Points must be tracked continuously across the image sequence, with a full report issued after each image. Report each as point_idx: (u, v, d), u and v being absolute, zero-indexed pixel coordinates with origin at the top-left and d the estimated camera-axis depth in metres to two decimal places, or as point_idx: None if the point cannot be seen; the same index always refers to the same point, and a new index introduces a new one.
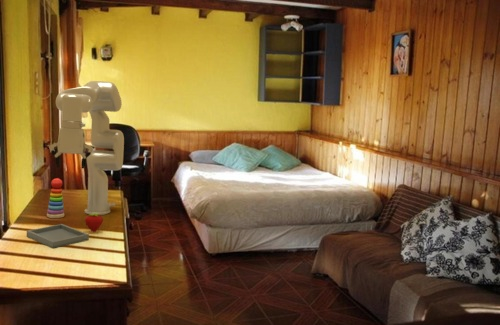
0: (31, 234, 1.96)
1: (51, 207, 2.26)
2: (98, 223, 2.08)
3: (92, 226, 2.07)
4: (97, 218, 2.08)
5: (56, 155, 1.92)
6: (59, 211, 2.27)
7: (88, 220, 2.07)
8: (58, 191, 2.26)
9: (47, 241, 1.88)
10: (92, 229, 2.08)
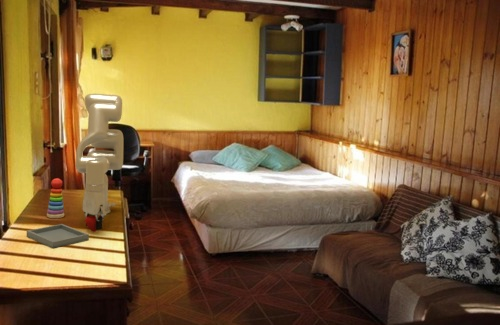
0: (31, 234, 1.96)
1: (51, 207, 2.26)
2: None
3: (92, 226, 2.07)
4: None
5: None
6: (59, 211, 2.27)
7: (88, 220, 2.07)
8: (58, 191, 2.26)
9: (47, 241, 1.88)
10: (92, 229, 2.08)
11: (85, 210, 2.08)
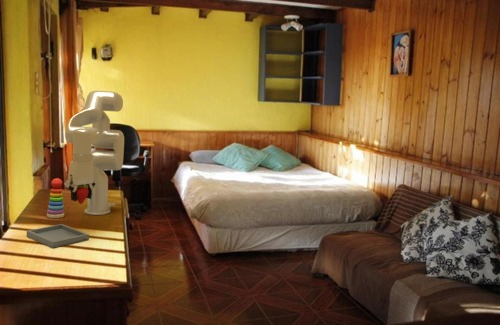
0: (31, 234, 1.96)
1: (51, 207, 2.26)
2: None
3: None
4: (76, 189, 2.01)
5: (74, 190, 1.99)
6: (59, 211, 2.27)
7: None
8: (58, 191, 2.26)
9: (47, 241, 1.88)
10: None
11: None
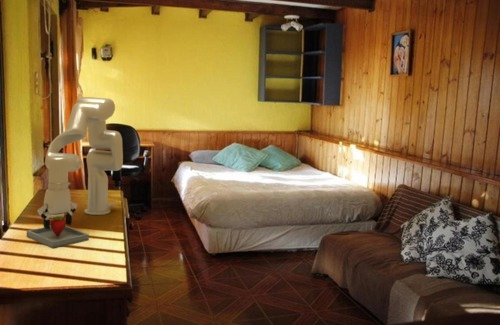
0: (31, 234, 1.96)
1: None
2: (51, 226, 1.96)
3: None
4: (52, 221, 1.96)
5: (47, 218, 1.92)
6: None
7: None
8: None
9: (47, 241, 1.88)
10: None
11: None
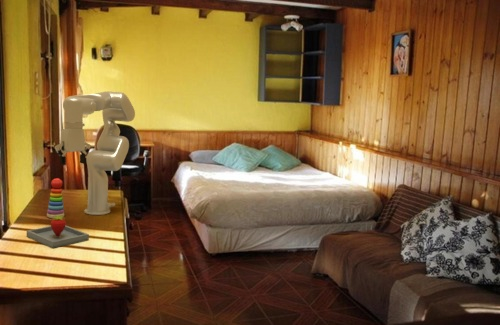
0: (31, 234, 1.96)
1: (51, 207, 2.26)
2: (51, 226, 1.96)
3: None
4: (52, 221, 1.96)
5: (63, 154, 2.08)
6: (59, 211, 2.27)
7: None
8: (58, 191, 2.26)
9: (47, 241, 1.88)
10: None
11: None
